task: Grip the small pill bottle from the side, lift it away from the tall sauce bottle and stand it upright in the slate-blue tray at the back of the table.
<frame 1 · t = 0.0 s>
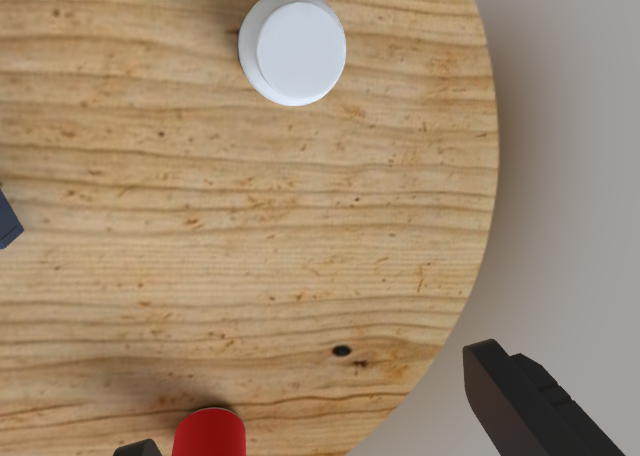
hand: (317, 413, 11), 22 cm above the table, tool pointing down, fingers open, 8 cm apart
pill bottle: (279, 47, 27), on the table
beverage can: (211, 422, 39), on the table
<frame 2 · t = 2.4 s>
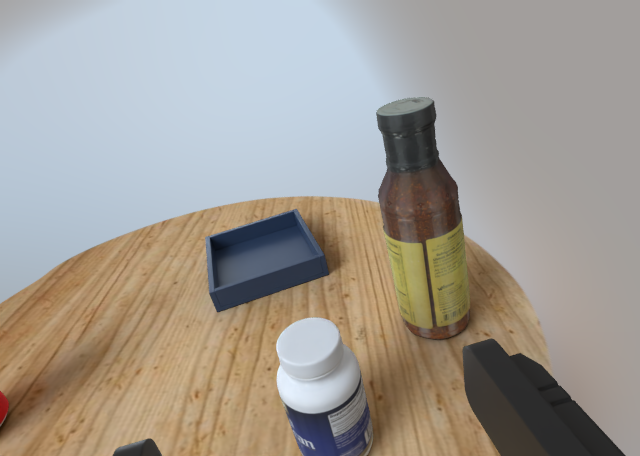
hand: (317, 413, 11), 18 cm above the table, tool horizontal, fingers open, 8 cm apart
pill bottle: (337, 441, 30), on the table
blue tray: (264, 262, 53), on the table
sauce bottle: (433, 320, 38), on the table
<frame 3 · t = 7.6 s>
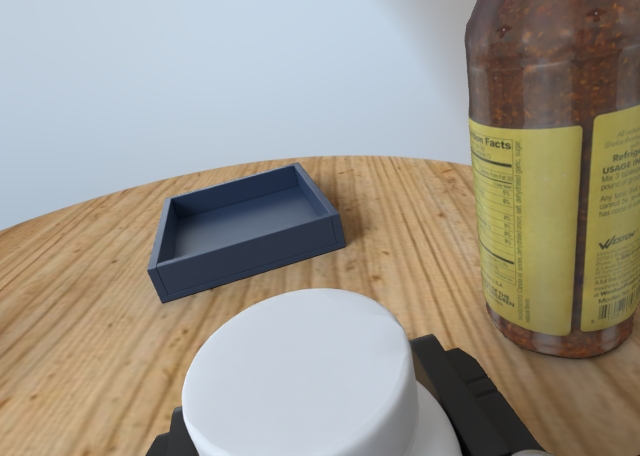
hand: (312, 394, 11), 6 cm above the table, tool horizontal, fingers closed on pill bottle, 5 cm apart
blue tray: (247, 233, 35), on the table
sauce bottle: (548, 321, 20), on the table
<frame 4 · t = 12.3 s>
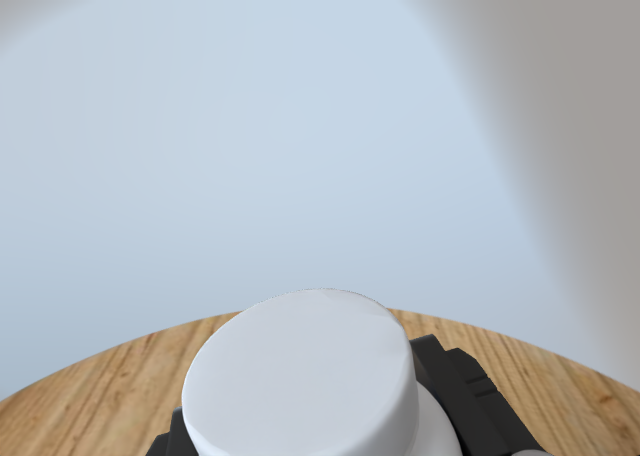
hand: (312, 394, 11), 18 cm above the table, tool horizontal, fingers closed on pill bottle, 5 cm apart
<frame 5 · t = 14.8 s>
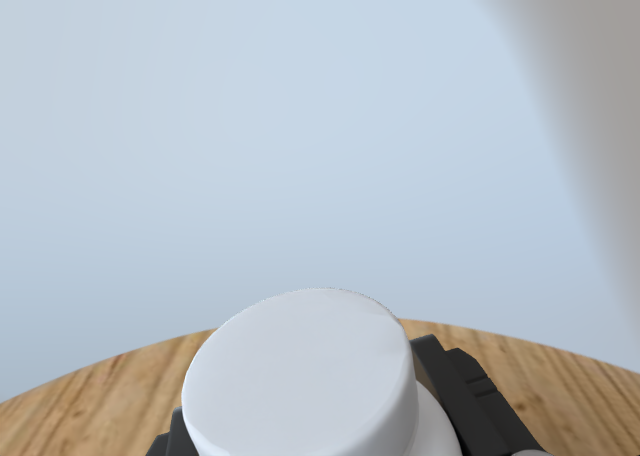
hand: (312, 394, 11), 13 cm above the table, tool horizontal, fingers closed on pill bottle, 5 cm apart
when the fingers open (6 cm above the table, at t = 17.0 s): pill bottle stays where it is, resting on blue tray.
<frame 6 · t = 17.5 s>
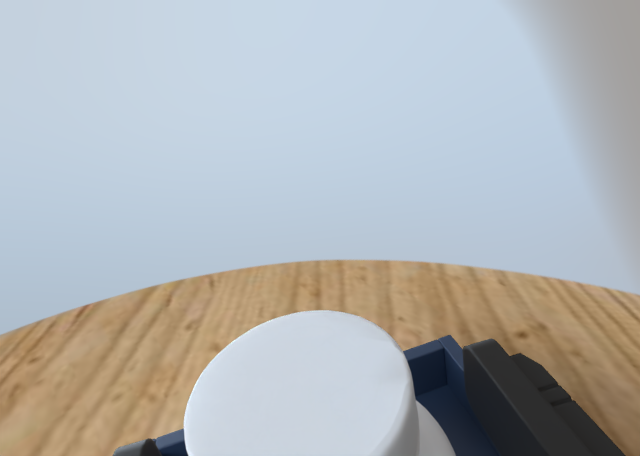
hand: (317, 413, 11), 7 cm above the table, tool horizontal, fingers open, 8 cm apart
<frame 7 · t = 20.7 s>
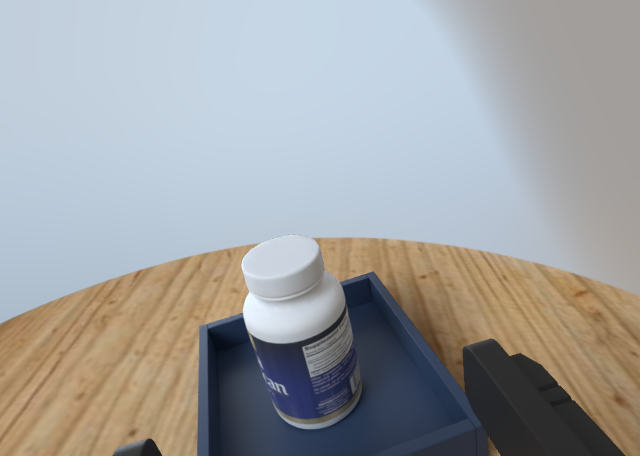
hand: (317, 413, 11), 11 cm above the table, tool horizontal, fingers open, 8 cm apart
pill bottle: (318, 395, 25), resting on blue tray
blue tray: (320, 396, 25), on the table
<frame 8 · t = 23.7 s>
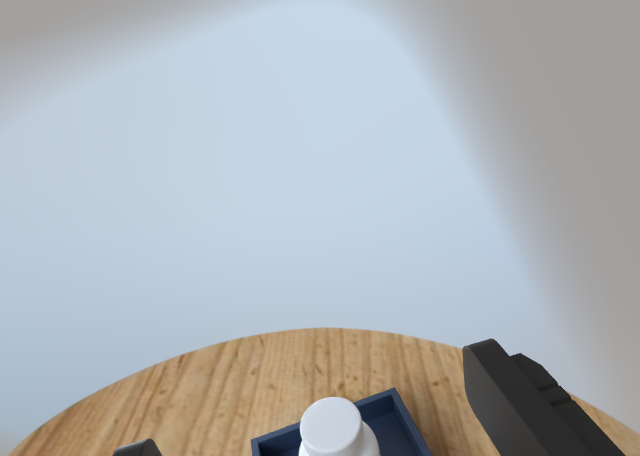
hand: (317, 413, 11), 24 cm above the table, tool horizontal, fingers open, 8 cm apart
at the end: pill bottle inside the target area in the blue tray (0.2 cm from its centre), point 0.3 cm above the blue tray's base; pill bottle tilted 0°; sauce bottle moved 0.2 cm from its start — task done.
